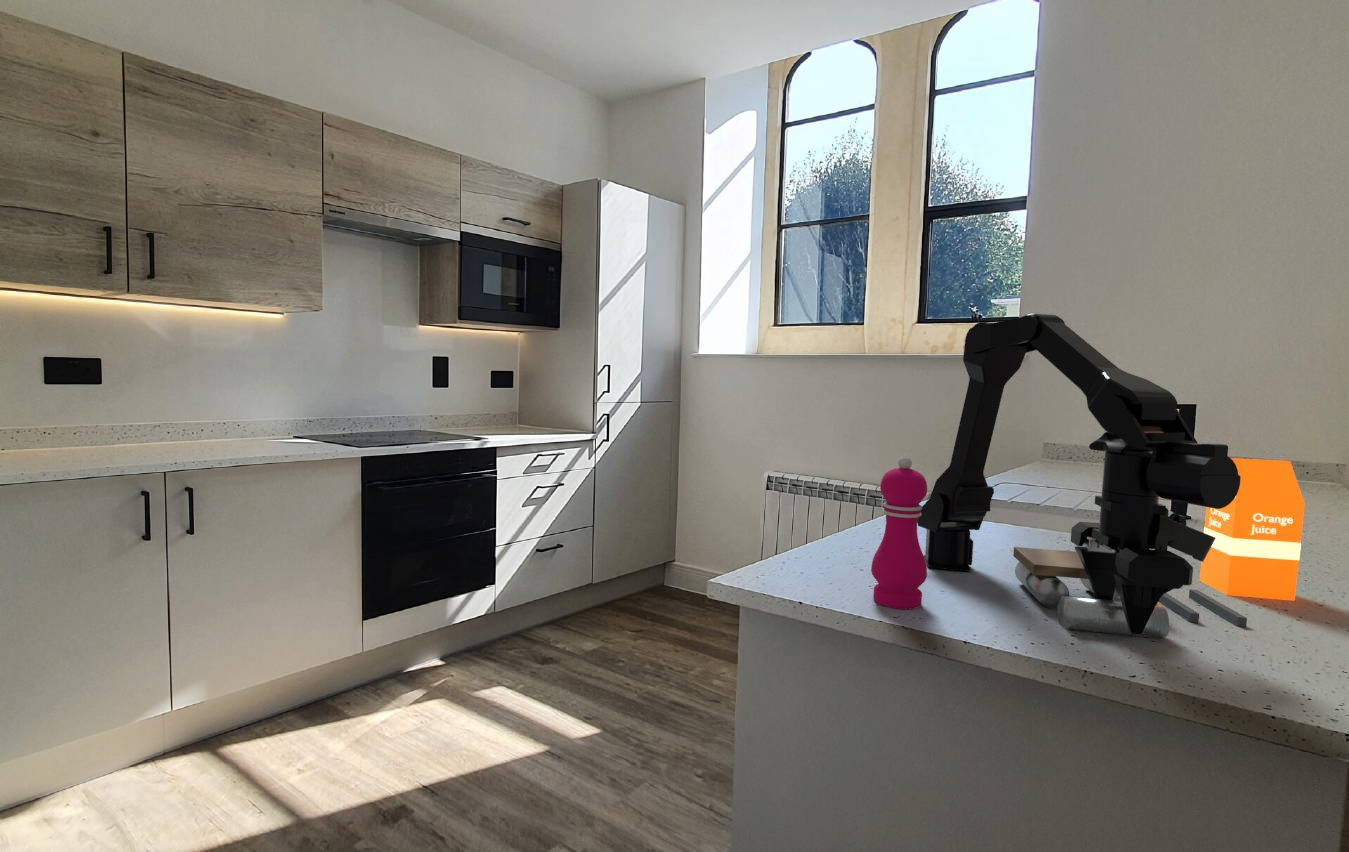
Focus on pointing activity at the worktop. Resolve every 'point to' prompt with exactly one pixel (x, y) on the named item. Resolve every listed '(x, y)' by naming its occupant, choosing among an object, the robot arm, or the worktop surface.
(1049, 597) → the track rollers
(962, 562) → the robot arm
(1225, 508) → the orange juice
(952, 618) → the worktop surface
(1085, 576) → the walnut slab
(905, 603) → the pepper mill
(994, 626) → the worktop surface
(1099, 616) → the loose roller
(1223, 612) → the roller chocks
